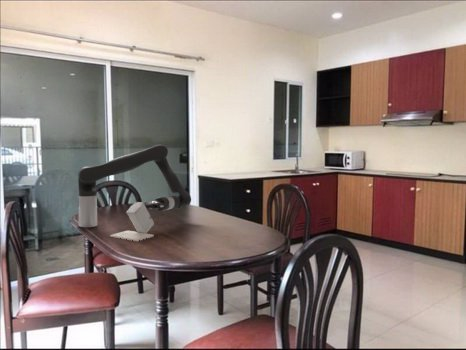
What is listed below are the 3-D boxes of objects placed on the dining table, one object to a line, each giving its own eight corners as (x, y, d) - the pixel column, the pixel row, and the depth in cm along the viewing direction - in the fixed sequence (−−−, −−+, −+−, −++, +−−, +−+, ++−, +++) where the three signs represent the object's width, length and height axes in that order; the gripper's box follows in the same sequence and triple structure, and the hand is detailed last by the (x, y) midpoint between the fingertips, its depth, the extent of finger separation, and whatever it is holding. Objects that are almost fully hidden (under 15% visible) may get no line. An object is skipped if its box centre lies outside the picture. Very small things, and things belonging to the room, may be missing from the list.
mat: (110, 236, 188) (110, 235, 188) (127, 231, 199) (127, 230, 199) (137, 241, 179) (137, 239, 179) (154, 236, 190) (154, 234, 190)
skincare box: (146, 234, 193) (133, 213, 185) (137, 233, 196) (125, 212, 188) (155, 223, 199) (143, 202, 191) (146, 221, 202) (134, 201, 194)
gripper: (155, 195, 213) (133, 198, 198) (174, 197, 207) (152, 200, 191) (155, 209, 213) (133, 213, 198) (173, 211, 207) (152, 215, 192)
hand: (142, 207), depth 195 cm, fingers closed
